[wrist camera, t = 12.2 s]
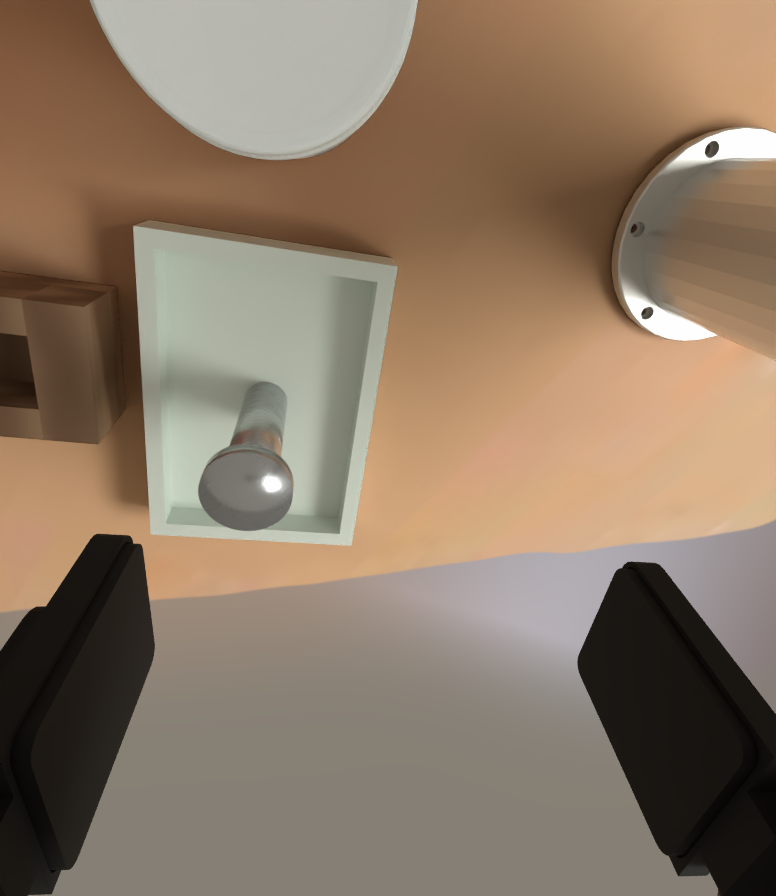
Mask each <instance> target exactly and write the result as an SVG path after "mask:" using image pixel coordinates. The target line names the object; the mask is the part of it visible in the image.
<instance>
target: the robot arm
mask: <svg viewBox="0 0 776 896" xmlns="http://www.w3.org/2000/svg"><path fill="white" fill-rule="evenodd" d="M632 226H633V229H632V231H631V228H632ZM612 277H613V284H614V289H615V292H616V295H617V297H618V300H619V303H620V305H621V306H622V308H623V309H624V311H625V312H626V314H627V315H628V317H629V318H631V319H632V320H633V321H634V322H635V323H636V324H637V325H638V326H639V327H641V328H643V329H645V330H646V331H648V332H650V333H652V334H654V335H657V336H659V337H662V338H664V339H669V340H676V341H693V340H700V339H704V338H708V337H712V336H716V335H718V336H720V337H723V338H725V339H727V340H730V341H732V342H734V343H736V344H739V345H741V346H743V347H746V348H748V349H750V350H752V351H755V352H757V353H759V354H761V355H764V356H766V357H768V358H771V359H773V360H775V361H776V132H773V131H770V130H768V129H765V128H758V127H747V126H744V127H731V128H724V129H720V130H716V131H712V132H708V133H705V134H703V135H701V136H699V137H697V138H694V139H692V140H690V141H688V142H686V143H685V144H683V145H682V146H680V147H679V148H677V149H676V150H675V151H673V152H672V153H670V154H669V155H667V156H666V157H665V158H664V159H663V160H662V161H661V162H660V163H659V164H658V165H657V166H656V167H655V168H654V169H653V170H652V171H651V172H650V173H649V174H648V176H647V177H646V178H645V179H644V181H643V182H642V183H641V185H640V186H639V187H638V189H637V190H636V191H635V193H634V195H633V197H632V198H631V200H630V202H629V204H628V206H627V207H626V209H625V211H624V214H623V216H622V219H621V221H620V224H619V227H618V229H617V232H616V237H615V242H614V246H613V251H612ZM154 649H155V643H154V635H153V627H152V619H151V611H150V603H149V595H148V587H147V579H146V571H145V563H144V555H143V548H142V546H141V544H133V540H132V538H131V536H128V535H109V534H96V535H94V536H93V537H92V538H91V539H90V541H89V542H88V544H87V545H86V547H85V549H84V550H83V552H82V553H81V555H80V556H79V558H78V559H77V561H76V562H75V564H74V565H73V567H72V568H71V570H70V571H69V573H68V574H67V576H66V577H65V579H64V580H63V582H62V583H61V585H60V586H59V588H58V589H57V591H56V592H55V594H54V595H53V597H52V598H51V600H50V601H49V603H48V604H47V606H46V607H35V608H33V609H32V610H30V611H29V612H28V614H27V615H26V616H25V617H24V618H23V619H22V621H21V622H20V624H19V625H18V627H17V628H16V629H15V631H14V632H13V634H12V635H11V637H10V638H9V639H8V641H7V642H6V644H5V645H4V647H3V648H2V649H1V651H0V896H28V895H39V894H52V892H53V890H54V887H55V884H56V882H57V880H58V877H59V875H60V872H61V870H69V869H71V868H72V867H73V865H74V864H75V862H76V860H77V858H78V855H79V853H80V851H81V848H82V846H83V843H84V840H85V838H86V835H87V832H88V830H89V827H90V824H91V822H92V819H93V817H94V814H95V811H96V809H97V806H98V804H99V801H100V798H101V796H102V793H103V790H104V788H105V785H106V783H107V780H108V777H109V775H110V772H111V769H112V767H113V764H114V761H115V759H116V756H117V754H118V751H119V748H120V746H121V743H122V740H123V738H124V735H125V732H126V730H127V727H128V725H129V722H130V719H131V717H132V714H133V712H134V709H135V706H136V704H137V701H138V698H139V696H140V693H141V691H142V688H143V685H144V683H145V680H146V677H147V675H148V672H149V669H150V667H151V664H152V661H153V656H154ZM578 670H579V673H580V676H581V678H582V681H583V683H584V685H585V687H586V689H587V692H588V694H589V696H590V698H591V700H592V703H593V705H594V707H595V709H596V711H597V714H598V716H599V718H600V720H601V722H602V725H603V727H604V729H605V731H606V733H607V735H608V738H609V740H610V742H611V745H612V747H613V749H614V751H615V753H616V756H617V758H618V760H619V762H620V764H621V767H622V769H623V771H624V773H625V775H626V778H627V780H628V782H629V784H630V786H631V788H632V791H633V793H634V795H635V797H636V800H637V802H638V804H639V806H640V809H641V811H642V813H643V815H644V817H645V820H646V822H647V824H648V826H649V828H650V831H651V833H652V835H653V837H654V839H655V842H656V843H657V845H658V847H659V849H660V850H661V851H662V852H663V853H664V854H665V855H668V856H669V857H670V859H671V861H672V864H673V866H674V868H675V870H676V872H677V875H678V876H703V875H704V876H706V875H708V874H709V873H710V874H711V876H712V877H713V880H714V881H715V883H716V885H717V887H718V895H717V896H776V714H775V713H774V711H773V710H772V709H771V708H770V706H769V705H768V704H767V702H766V701H765V700H764V699H763V697H762V696H761V695H760V693H759V692H758V691H757V689H756V688H755V687H754V686H753V685H752V683H751V682H750V680H749V679H748V678H747V676H746V675H745V674H744V673H743V671H742V670H741V669H740V667H739V666H738V665H737V663H736V662H735V661H734V660H733V658H732V657H731V656H730V654H729V653H728V652H727V651H726V649H725V648H724V647H723V645H722V644H721V643H720V641H719V640H718V639H717V638H716V636H715V635H714V634H713V632H712V631H711V630H710V628H709V627H708V626H707V625H706V623H705V622H704V621H703V619H702V618H701V617H700V616H699V614H698V613H697V612H696V610H695V609H694V608H693V607H692V605H691V604H690V603H689V601H688V600H687V599H686V597H685V596H684V595H683V594H682V592H681V591H680V590H679V589H678V587H677V586H676V584H675V583H674V582H673V581H672V579H671V578H670V577H669V575H668V574H667V573H666V572H665V570H664V569H663V568H662V567H661V566H660V565H659V564H656V563H646V562H627V563H626V564H625V565H624V566H623V567H622V568H621V569H618V570H617V571H616V572H615V574H614V576H613V578H612V581H611V583H610V585H609V588H608V590H607V592H606V594H605V597H604V599H603V602H602V603H601V606H600V608H599V611H598V613H597V615H596V617H595V619H594V622H593V624H592V627H591V628H590V631H589V633H588V635H587V637H586V640H585V642H584V644H583V647H582V649H581V651H580V653H579V656H578Z"/></svg>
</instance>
